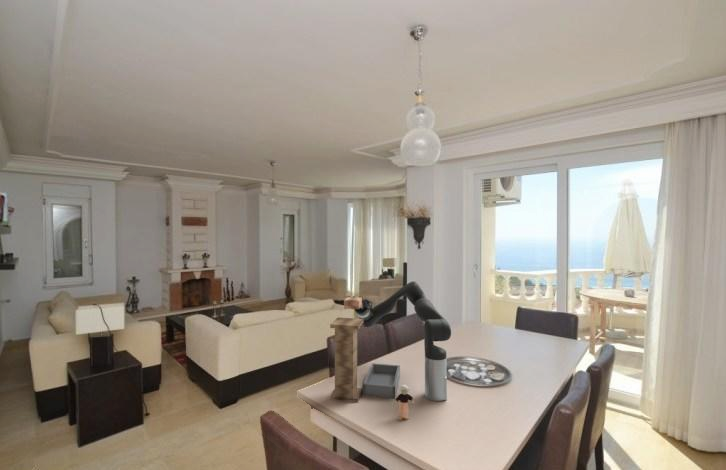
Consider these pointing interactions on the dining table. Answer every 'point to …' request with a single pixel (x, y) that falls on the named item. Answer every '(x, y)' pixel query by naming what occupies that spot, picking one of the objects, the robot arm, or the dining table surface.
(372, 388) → the tote
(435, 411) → the dining table surface
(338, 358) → the brown tall square column
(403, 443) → the dining table surface
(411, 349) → the dining table surface
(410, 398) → the grandmother figurine
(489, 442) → the dining table surface
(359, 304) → the mallet
